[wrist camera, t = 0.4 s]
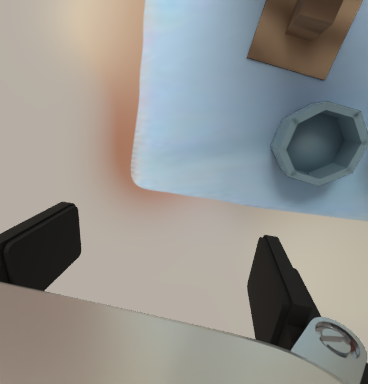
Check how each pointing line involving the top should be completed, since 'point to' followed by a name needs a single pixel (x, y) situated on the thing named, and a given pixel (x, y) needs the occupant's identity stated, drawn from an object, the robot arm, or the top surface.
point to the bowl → (320, 142)
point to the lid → (302, 34)
